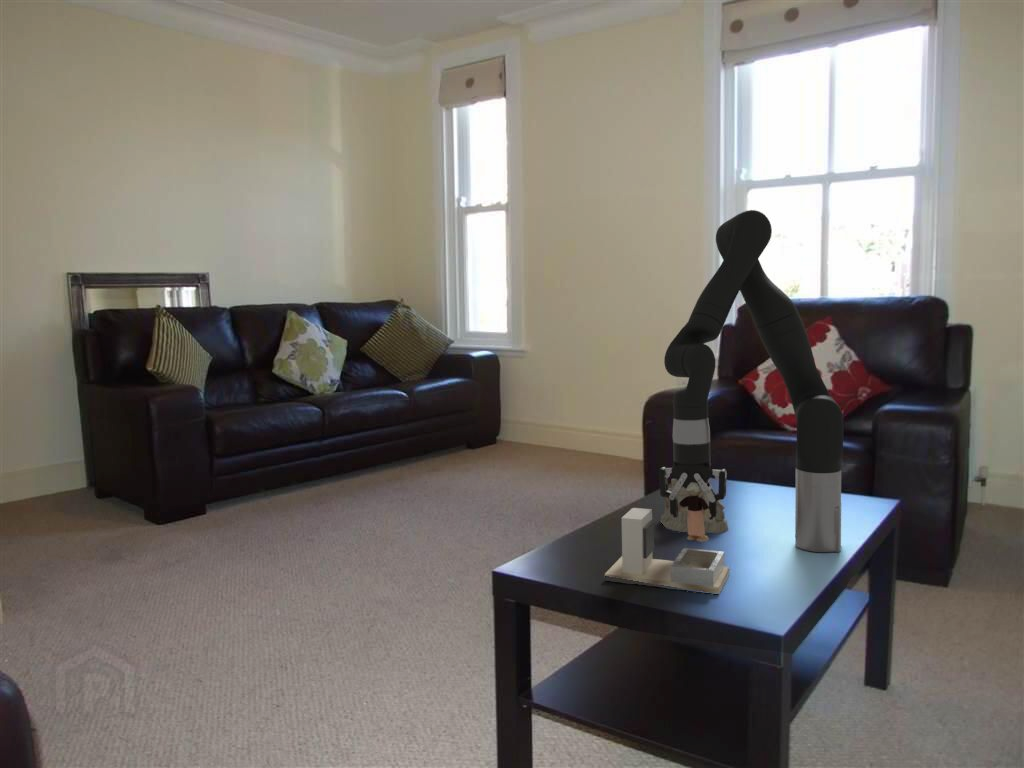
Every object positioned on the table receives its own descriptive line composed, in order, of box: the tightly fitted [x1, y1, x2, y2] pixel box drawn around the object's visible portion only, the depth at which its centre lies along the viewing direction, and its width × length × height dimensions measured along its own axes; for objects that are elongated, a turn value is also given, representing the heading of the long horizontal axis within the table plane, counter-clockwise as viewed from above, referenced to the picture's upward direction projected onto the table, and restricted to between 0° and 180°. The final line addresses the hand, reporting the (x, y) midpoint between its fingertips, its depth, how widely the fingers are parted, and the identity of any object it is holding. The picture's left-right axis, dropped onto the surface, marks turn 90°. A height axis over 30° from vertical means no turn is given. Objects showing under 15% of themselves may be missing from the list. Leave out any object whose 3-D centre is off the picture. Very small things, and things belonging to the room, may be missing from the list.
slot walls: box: [670, 547, 725, 587], centre depth 153 cm, size 8×12×3 cm, turn 156°
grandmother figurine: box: [678, 482, 711, 542], centre depth 165 cm, size 8×4×13 cm, turn 57°
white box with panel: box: [621, 507, 655, 575], centre depth 158 cm, size 5×8×11 cm, turn 156°
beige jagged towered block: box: [659, 478, 729, 535], centre depth 192 cm, size 16×16×15 cm
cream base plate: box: [604, 555, 731, 595], centre depth 156 cm, size 22×12×2 cm, turn 66°
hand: (693, 517), depth 165 cm, fingers closed on grandmother figurine, 7 cm apart
